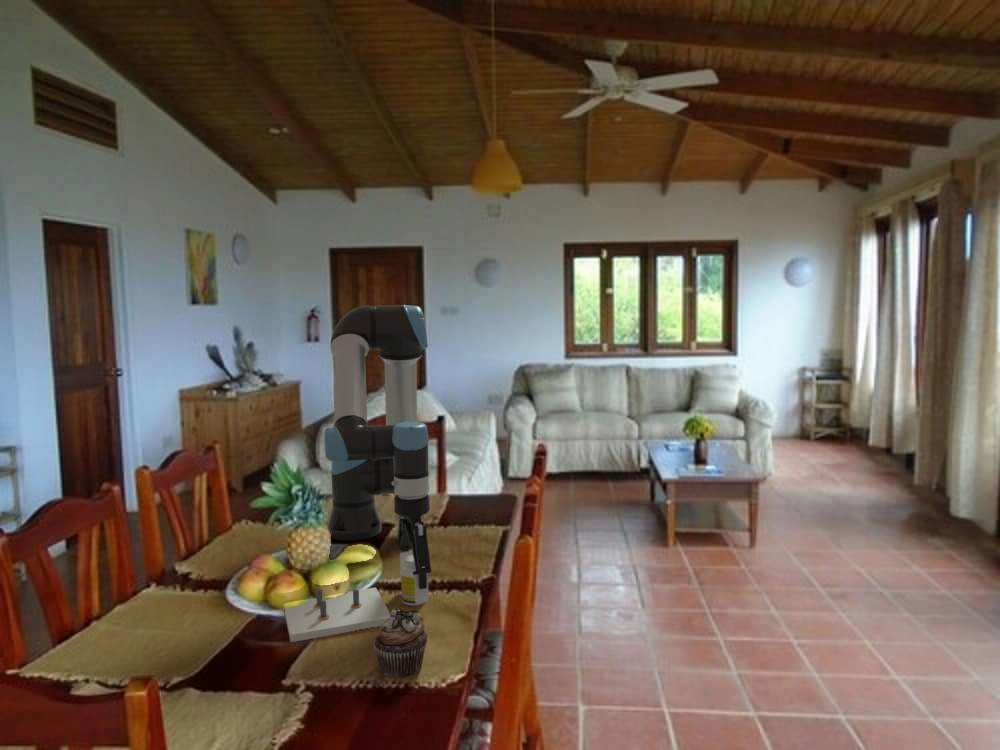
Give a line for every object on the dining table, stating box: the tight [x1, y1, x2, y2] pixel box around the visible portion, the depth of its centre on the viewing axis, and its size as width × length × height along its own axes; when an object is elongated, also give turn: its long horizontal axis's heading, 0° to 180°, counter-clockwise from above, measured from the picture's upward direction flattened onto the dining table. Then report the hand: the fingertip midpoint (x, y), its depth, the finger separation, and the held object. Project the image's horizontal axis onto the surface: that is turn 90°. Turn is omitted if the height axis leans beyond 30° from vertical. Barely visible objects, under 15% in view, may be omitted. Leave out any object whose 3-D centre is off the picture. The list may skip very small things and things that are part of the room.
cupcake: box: [372, 607, 428, 679], centre depth 129 cm, size 10×10×10 cm
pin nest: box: [284, 587, 391, 643], centre depth 150 cm, size 16×20×5 cm
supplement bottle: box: [400, 554, 425, 607], centre depth 157 cm, size 5×5×10 cm
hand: (414, 590), depth 157 cm, fingers open, 12 cm apart
